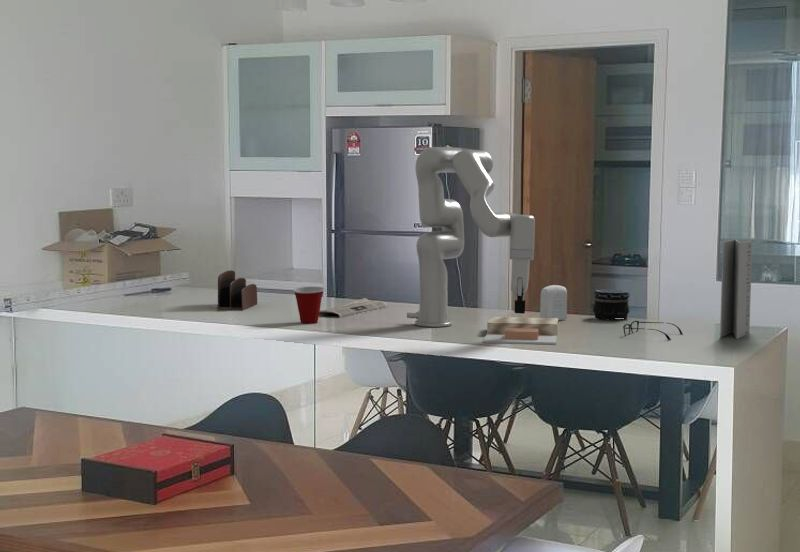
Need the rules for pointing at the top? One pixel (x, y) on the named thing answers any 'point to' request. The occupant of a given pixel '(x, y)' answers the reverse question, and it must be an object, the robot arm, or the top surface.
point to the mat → (501, 339)
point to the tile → (522, 333)
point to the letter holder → (235, 292)
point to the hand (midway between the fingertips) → (519, 312)
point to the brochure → (736, 288)
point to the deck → (523, 324)
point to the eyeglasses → (649, 329)
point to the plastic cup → (309, 303)
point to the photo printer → (553, 302)
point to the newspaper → (354, 308)
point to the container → (611, 304)
